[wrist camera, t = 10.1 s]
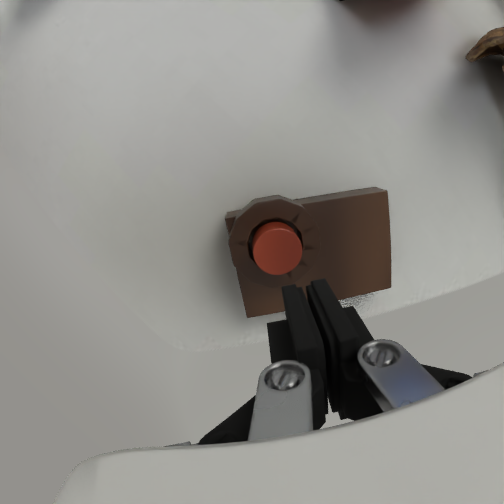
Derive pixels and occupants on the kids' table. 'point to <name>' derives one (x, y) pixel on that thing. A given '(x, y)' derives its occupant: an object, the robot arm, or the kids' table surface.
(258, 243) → the bell button
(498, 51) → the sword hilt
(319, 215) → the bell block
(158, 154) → the kids' table surface
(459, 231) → the kids' table surface
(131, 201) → the kids' table surface
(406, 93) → the kids' table surface
